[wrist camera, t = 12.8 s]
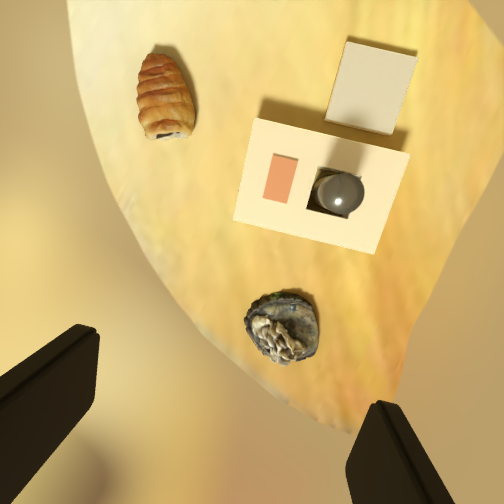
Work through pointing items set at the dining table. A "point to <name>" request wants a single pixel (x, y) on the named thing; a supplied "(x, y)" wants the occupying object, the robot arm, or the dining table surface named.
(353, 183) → the peg
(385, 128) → the pad
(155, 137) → the pastry
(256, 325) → the grey rounded lumpy piece
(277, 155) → the board
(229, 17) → the dining table surface
